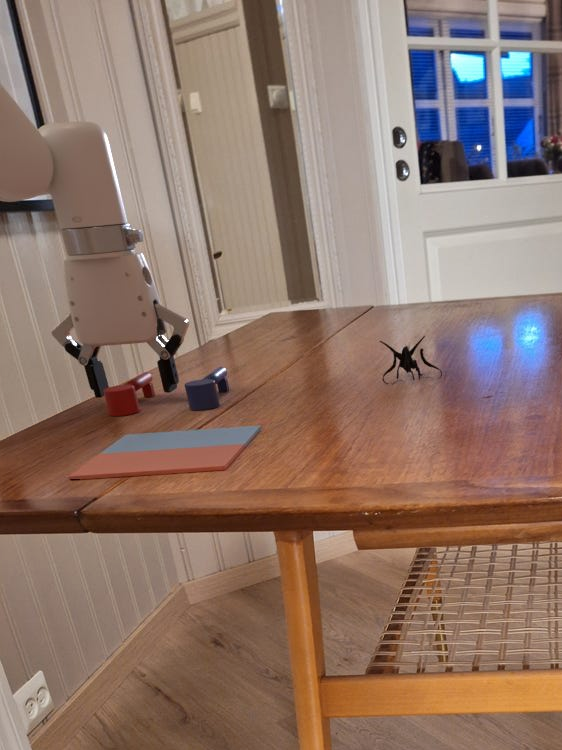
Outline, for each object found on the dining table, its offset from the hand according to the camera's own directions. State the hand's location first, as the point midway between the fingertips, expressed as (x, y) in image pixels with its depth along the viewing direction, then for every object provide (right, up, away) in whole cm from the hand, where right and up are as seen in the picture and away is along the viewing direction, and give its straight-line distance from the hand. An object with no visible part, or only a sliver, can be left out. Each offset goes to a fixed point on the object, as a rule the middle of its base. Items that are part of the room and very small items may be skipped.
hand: (136, 392), depth 111 cm
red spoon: (0, -2, 0) cm, 2 cm away
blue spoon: (+10, -1, 0) cm, 10 cm away
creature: (+35, +2, +2) cm, 35 cm away
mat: (+12, -13, -22) cm, 28 cm away
